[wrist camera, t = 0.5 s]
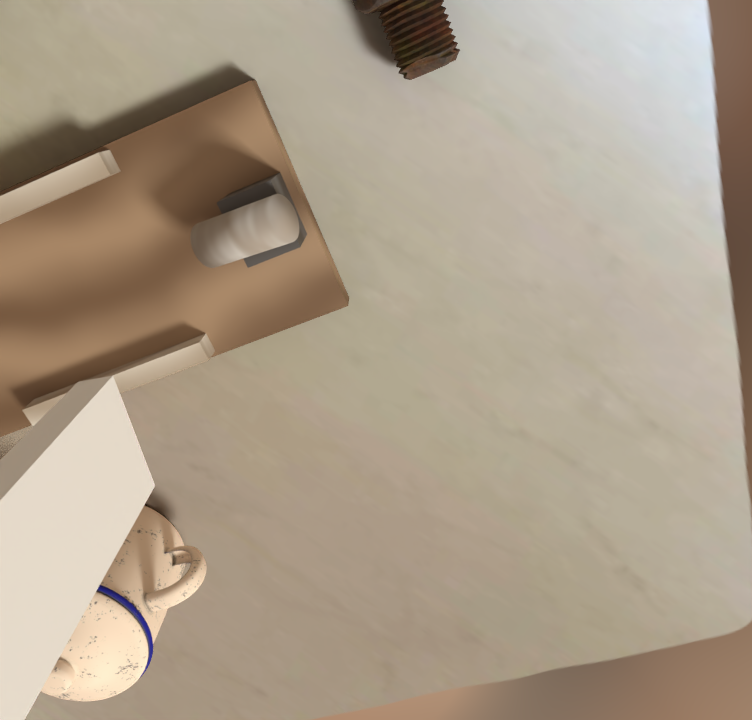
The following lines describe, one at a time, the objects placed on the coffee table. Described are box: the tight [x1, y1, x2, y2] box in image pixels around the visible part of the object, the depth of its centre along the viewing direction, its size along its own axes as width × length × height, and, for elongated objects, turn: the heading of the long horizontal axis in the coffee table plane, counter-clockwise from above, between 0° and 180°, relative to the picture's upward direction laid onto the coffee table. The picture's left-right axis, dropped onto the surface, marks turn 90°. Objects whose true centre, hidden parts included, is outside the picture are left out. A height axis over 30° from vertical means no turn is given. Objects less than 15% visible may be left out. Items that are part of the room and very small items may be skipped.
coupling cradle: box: [0, 80, 349, 437], centre depth 37 cm, size 13×29×7 cm, turn 112°
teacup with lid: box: [41, 506, 206, 701], centre depth 42 cm, size 12×9×12 cm
